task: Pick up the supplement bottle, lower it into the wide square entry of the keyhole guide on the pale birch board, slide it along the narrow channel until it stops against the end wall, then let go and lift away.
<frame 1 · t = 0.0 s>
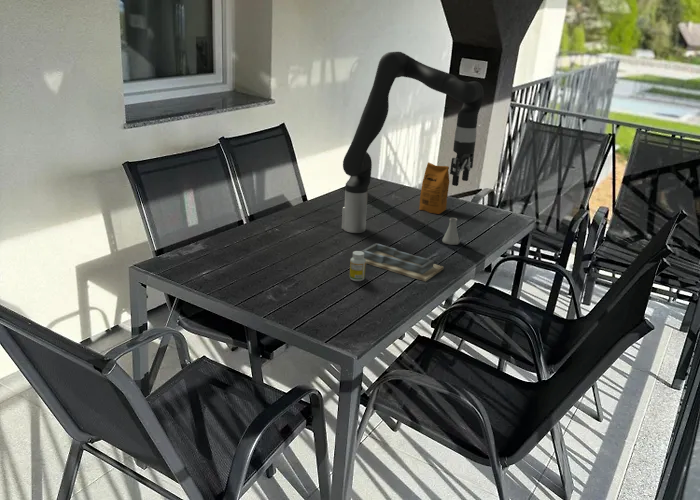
hand: (460, 182, 230), 29 cm above the table, tool pointing down, fingers open, 8 cm apart
coffee package: (432, 210, 293), on the table
keyhole guide: (398, 264, 231), on the table
supplement bottle: (357, 278, 219), on the table
flask: (450, 242, 255), on the table
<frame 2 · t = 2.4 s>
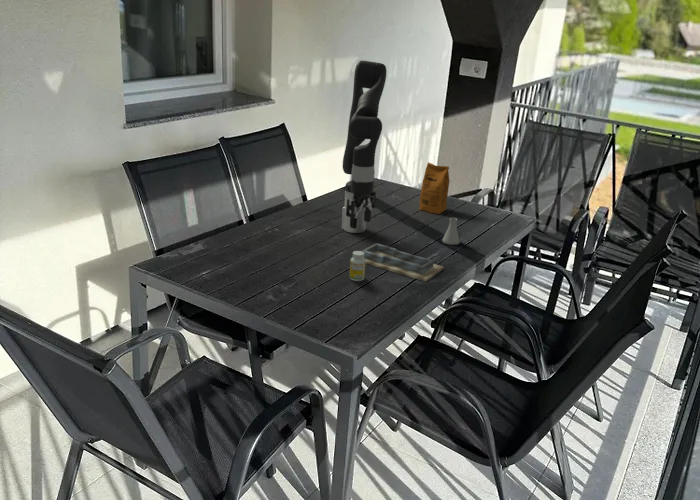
hand: (360, 224, 211), 20 cm above the table, tool pointing down, fingers open, 8 cm apart
nothing on the table moved.
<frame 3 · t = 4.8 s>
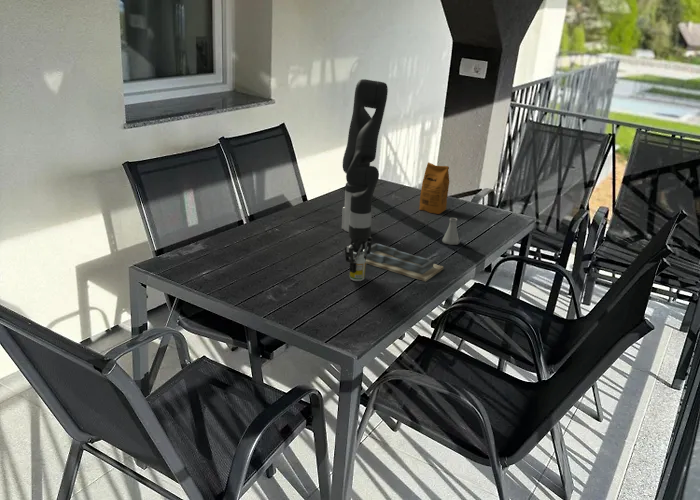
hand: (357, 269, 217), 3 cm above the table, tool pointing down, fingers closed on supplement bottle, 5 cm apart
supplement bottle: (357, 278, 219), on the table, touching gripper
everything else where it was.
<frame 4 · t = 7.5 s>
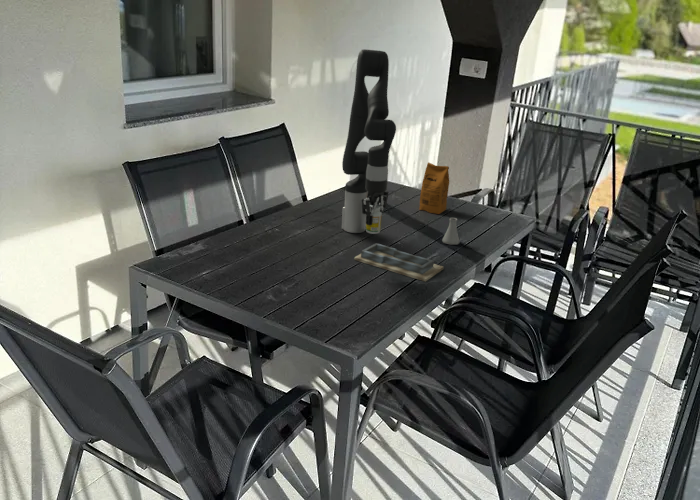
hand: (373, 222, 224), 17 cm above the table, tool pointing down, fingers closed on supplement bottle, 5 cm apart
supplement bottle: (373, 231, 225), point 13 cm above the table, touching gripper
everything else where it was.
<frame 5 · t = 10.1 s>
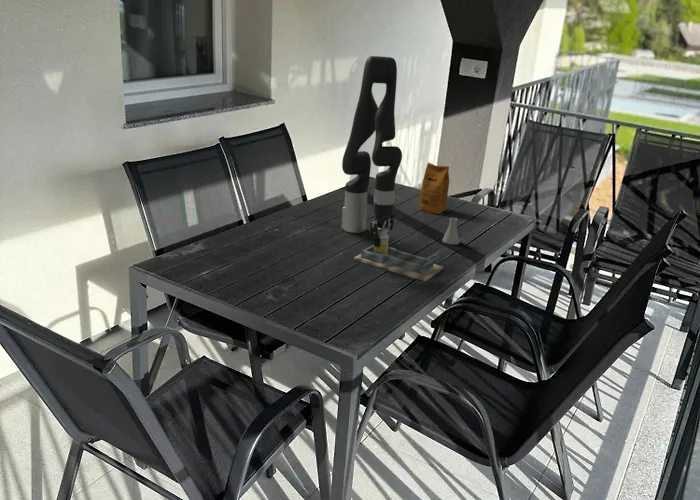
hand: (381, 244, 233), 6 cm above the table, tool pointing down, fingers closed on supplement bottle, 5 cm apart
supplement bottle: (380, 253, 235), point 2 cm above the table, touching gripper
everything else where it was.
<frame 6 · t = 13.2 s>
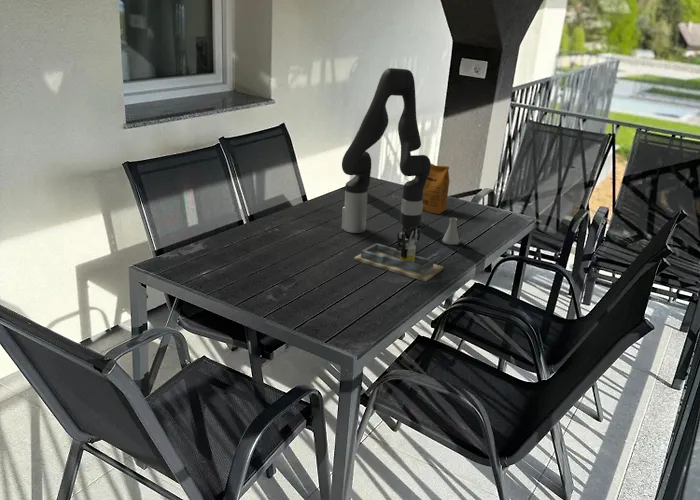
hand: (407, 254, 228), 5 cm above the table, tool pointing down, fingers closed on supplement bottle, 5 cm apart
supplement bottle: (407, 264, 229), point 1 cm above the table, touching gripper
everything else where it was.
when the fingers open (5 cm above the table, at t = 15.7 s): supplement bottle stays where it is, resting on keyhole guide.
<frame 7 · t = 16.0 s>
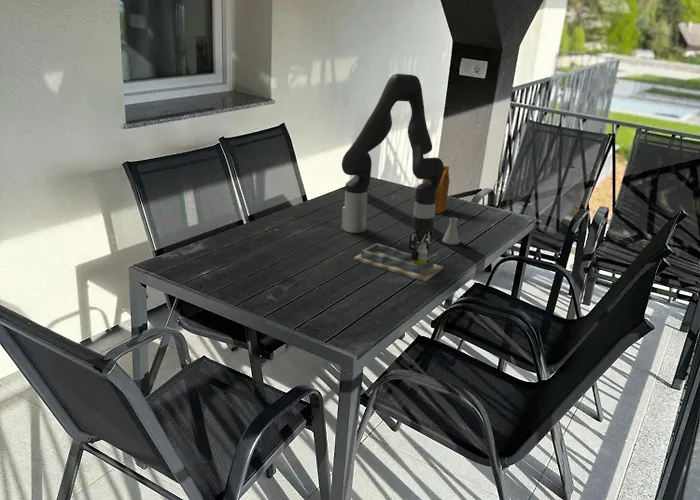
hand: (419, 257, 225), 5 cm above the table, tool pointing down, fingers open, 7 cm apart
supplement bottle: (418, 268, 227), point 1 cm above the table, touching keyhole guide
everything else where it was.
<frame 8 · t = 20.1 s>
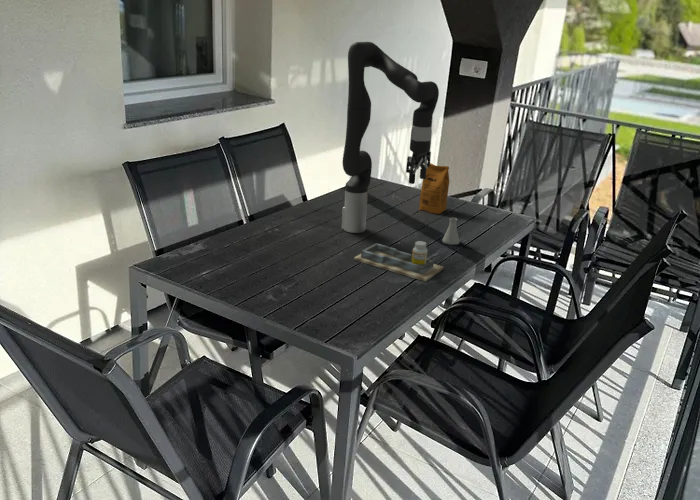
hand: (417, 181, 234), 28 cm above the table, tool pointing down, fingers open, 8 cm apart
nothing on the table moved.
at the end: supplement bottle 0.1 cm from the target spot on the keyhole guide, point 0.8 cm above the keyhole guide's base; supplement bottle tilted 0°; the gripper is holding nothing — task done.
